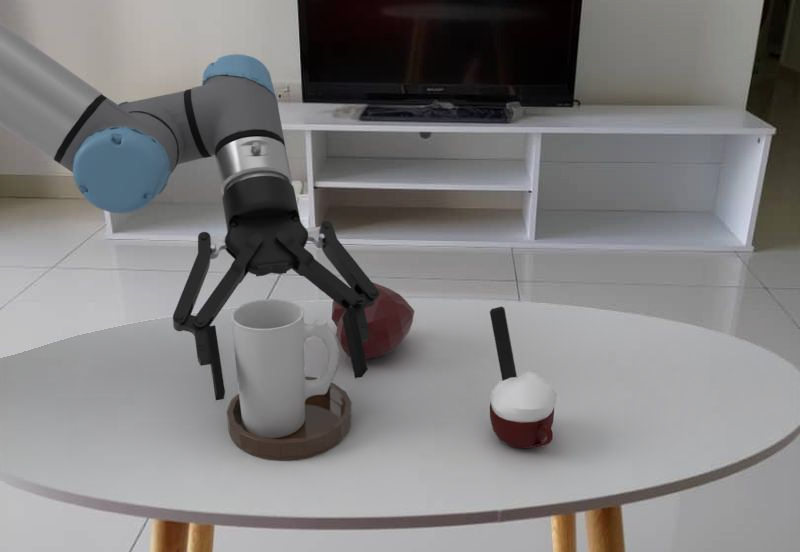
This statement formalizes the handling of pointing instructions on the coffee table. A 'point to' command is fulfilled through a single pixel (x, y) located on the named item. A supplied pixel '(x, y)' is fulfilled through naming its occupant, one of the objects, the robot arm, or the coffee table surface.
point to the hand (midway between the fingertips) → (293, 385)
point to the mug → (277, 365)
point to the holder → (316, 435)
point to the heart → (379, 323)
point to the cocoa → (519, 396)
